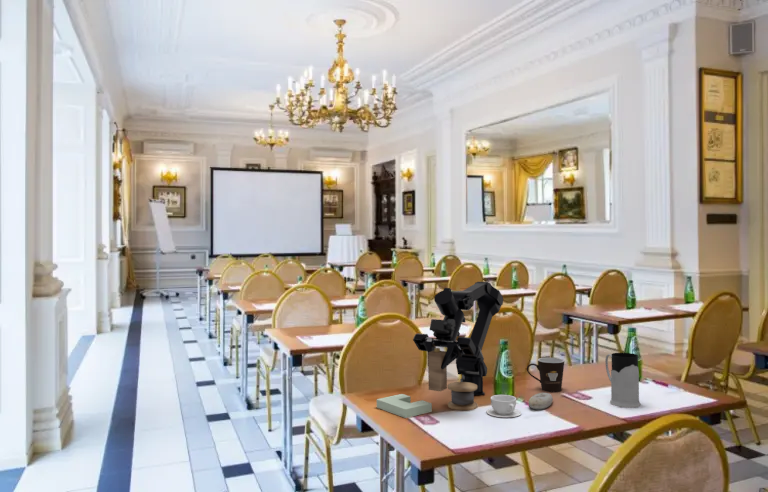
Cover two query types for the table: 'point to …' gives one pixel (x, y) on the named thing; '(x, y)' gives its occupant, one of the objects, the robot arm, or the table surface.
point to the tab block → (437, 370)
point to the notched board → (403, 405)
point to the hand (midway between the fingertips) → (435, 367)
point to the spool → (462, 396)
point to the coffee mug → (550, 373)
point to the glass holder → (624, 380)
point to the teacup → (503, 406)
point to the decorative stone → (540, 401)
